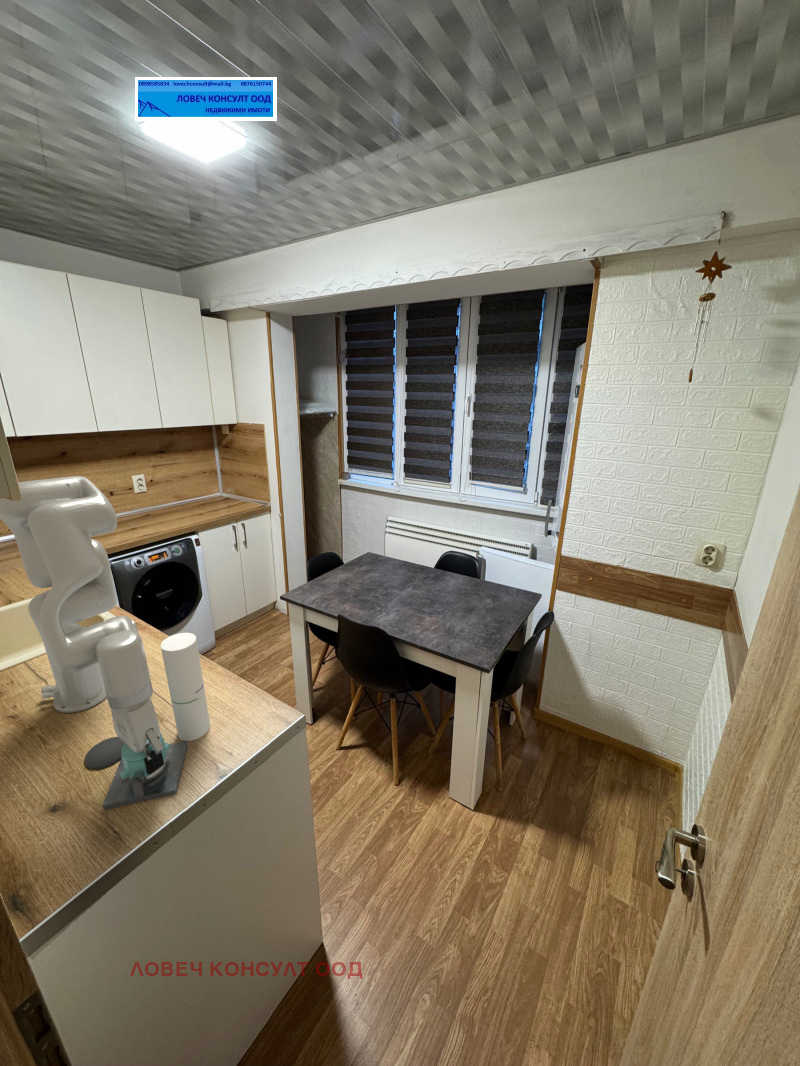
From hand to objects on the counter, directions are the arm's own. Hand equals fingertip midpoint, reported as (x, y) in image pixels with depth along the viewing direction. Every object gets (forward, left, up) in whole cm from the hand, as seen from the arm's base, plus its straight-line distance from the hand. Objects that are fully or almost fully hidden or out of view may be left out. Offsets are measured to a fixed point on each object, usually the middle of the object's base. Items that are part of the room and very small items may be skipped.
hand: (145, 759), depth 88 cm
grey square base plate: (0, 0, -4) cm, 4 cm away
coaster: (-10, +8, -4) cm, 14 cm away
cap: (0, 0, -1) cm, 1 cm away
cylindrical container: (+7, +11, -4) cm, 14 cm away
